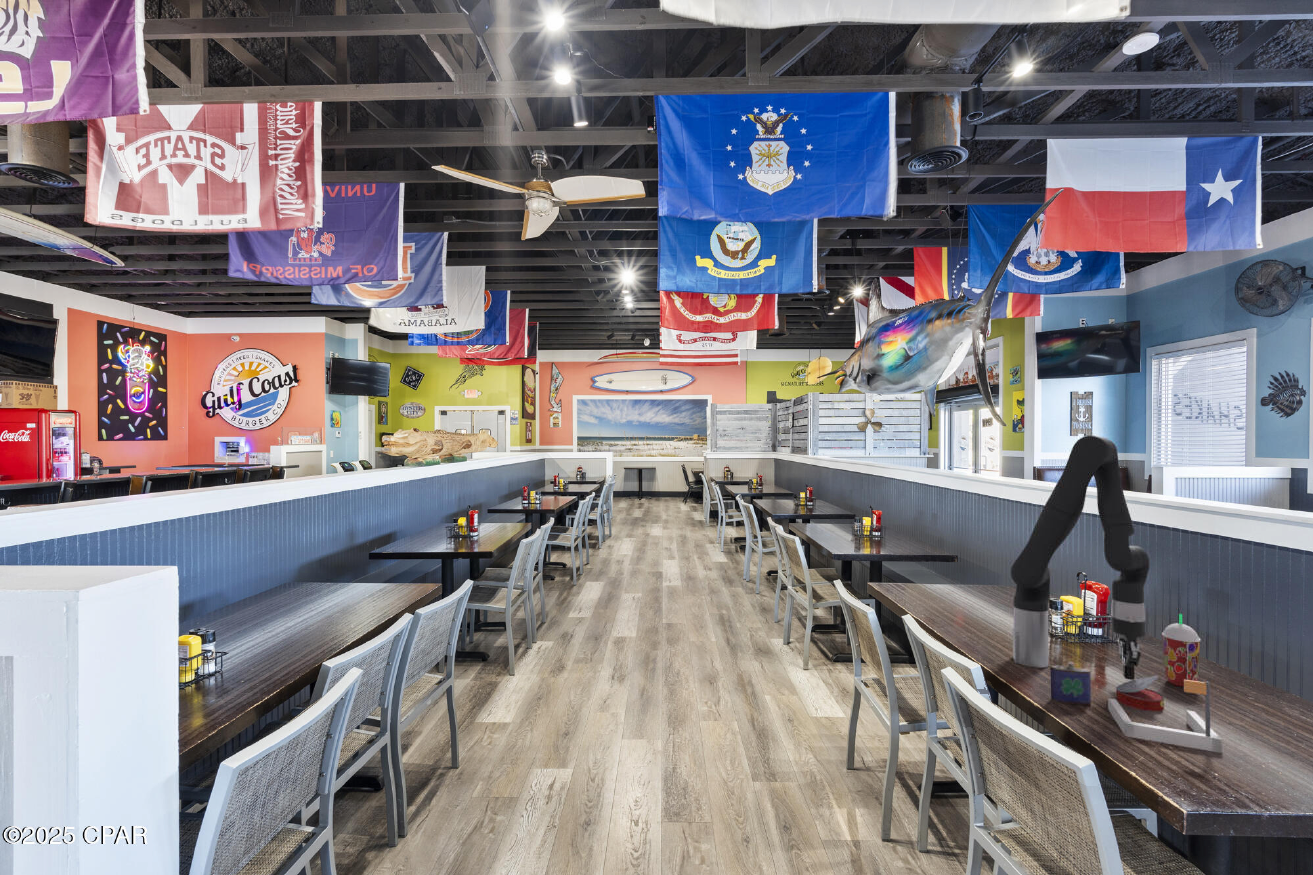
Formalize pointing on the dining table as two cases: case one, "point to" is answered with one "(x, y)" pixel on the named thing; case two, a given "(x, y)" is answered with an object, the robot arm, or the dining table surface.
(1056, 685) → the flask
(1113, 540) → the robot arm
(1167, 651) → the smoothie
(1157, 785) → the dining table surface
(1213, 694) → the dining table surface
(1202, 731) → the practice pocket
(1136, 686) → the canned food
